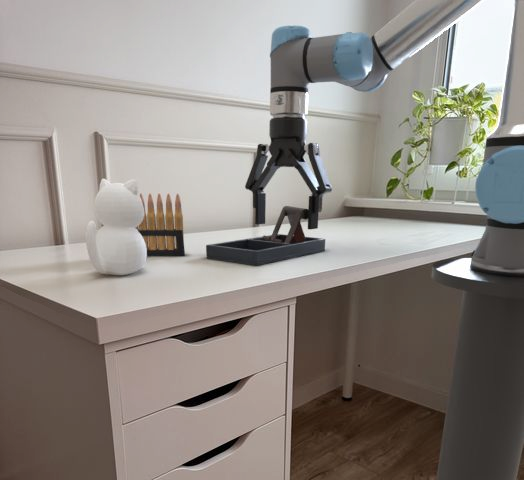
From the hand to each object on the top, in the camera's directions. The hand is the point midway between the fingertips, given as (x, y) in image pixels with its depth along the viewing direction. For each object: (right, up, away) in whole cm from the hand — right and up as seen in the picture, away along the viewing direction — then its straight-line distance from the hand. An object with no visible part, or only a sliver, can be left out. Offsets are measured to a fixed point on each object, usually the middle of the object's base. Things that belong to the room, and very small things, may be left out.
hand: (285, 226), depth 110 cm
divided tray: (-4, -6, -3) cm, 8 cm away
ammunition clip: (-26, -7, -6) cm, 28 cm away
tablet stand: (0, -4, +1) cm, 5 cm away
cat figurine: (-29, -14, -24) cm, 40 cm away
